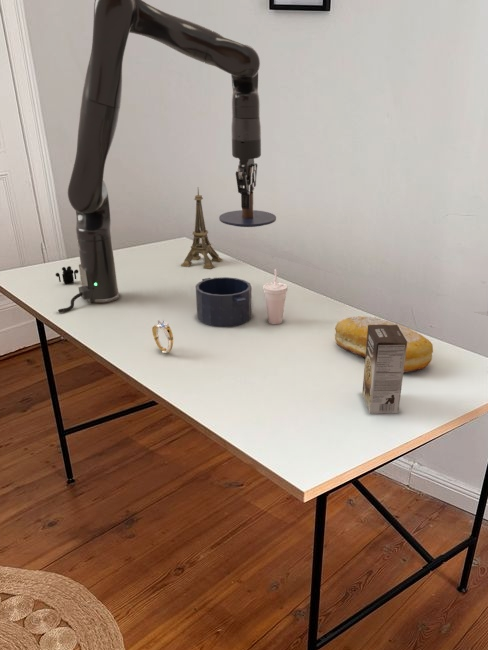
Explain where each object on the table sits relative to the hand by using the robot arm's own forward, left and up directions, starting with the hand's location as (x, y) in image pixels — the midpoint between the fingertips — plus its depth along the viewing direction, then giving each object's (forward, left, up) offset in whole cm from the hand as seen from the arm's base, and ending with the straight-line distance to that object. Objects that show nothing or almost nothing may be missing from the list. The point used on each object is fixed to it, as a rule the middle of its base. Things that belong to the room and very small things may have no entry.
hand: (247, 206), depth 186 cm
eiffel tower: (+3, +36, -25) cm, 44 cm away
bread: (+6, -52, -25) cm, 59 cm away
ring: (-38, -23, -25) cm, 51 cm away
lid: (0, 0, -3) cm, 3 cm away
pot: (-14, -10, -25) cm, 30 cm away
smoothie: (-4, -20, -25) cm, 33 cm away
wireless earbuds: (-41, +38, -25) cm, 61 cm away
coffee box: (-10, -71, -25) cm, 76 cm away
